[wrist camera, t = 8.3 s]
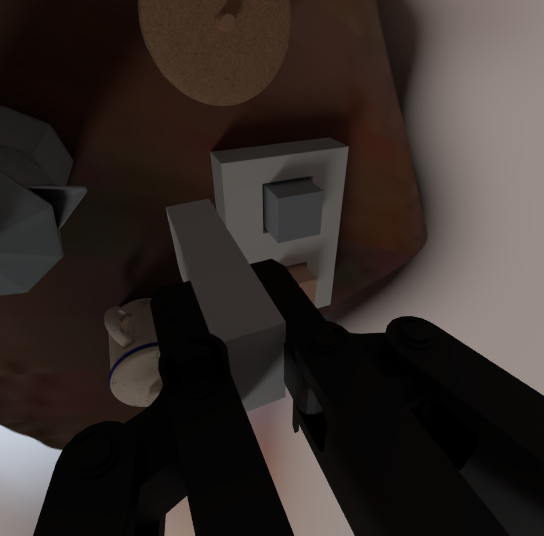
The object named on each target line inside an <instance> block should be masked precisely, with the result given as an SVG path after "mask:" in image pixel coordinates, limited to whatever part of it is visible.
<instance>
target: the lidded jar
mask: <svg viewBox="0 0 544 536" xmlns="http://www.w3.org/2000/svg"><path fill="white" fill-rule="evenodd" d="M138 14H139V23H140V27H141V31H142V35H143V38H144V41H145V44H146V46H147V49H148V51H149V52H150V54H151V56H152V58H153V60H154V62H155V64H156V65H157V66H158V68H159V69H160V71H161V72H162V74H163V75H164V76H165V77H166V78H167V79H168V80H169V81H170V82H171V83H172V85H174V86H175V87H176V88H177V89H179V90H180V91H181V92H182V93H184V94H185V95H187V96H189V97H191V98H192V99H194V100H197V101H199V102H202V103H205V104H209V105H214V106H229V105H236V104H239V103H242V102H245V101H247V100H249V99H251V98H253V97H255V96H256V95H258V94H259V93H260V92H261V91H263V90H264V89H265V88H266V87H267V86H268V85H269V84H270V83H271V81H272V80H273V79H274V77H275V76H276V74H277V73H278V71H279V69H280V67H281V65H282V63H283V61H284V58H285V56H286V53H287V50H288V46H289V41H290V36H291V25H292V16H291V4H290V0H138Z"/></svg>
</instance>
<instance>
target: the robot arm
mask: <svg viewBox="0 0 544 536" xmlns="http://www.w3.org/2000/svg"><path fill="white" fill-rule="evenodd" d="M166 211H167V215H168V220H169V225H170V229H171V234H172V238H173V243H174V248H175V252H176V257H177V261H178V266H179V270H180V274H181V277H182V280H183V282H182V283H178V284H174V285H170V286H166V287H162V288H158V289H155V290H154V293H153V295H152V298H151V301H150V307H151V312H152V317H153V322H154V327H155V332H156V336H157V341H158V346H159V351H160V357H159V361H158V371H159V374H160V377H161V380H162V383H163V386H162V389H161V391H160V393H159V395H158V396H157V398H156V399H155V400H154V401H153V402H152V404H151V405H149V406H148V407H147V408H146V409H145V410H143V411H142V412H141V413H139V414H138V415H136V416H135V417H133V418H132V419H130V420H129V421H127V422H126V423H124V424H122V423H120V422H118V421H104V422H101V423H97V424H94V425H91V426H89V427H87V428H86V429H84V430H83V431H81V432H80V433H78V434H77V435H75V436H74V437H73V439H72V440H71V441H70V442H69V443H68V444H67V445H66V446H65V447H64V449H63V450H62V452H61V454H60V457H59V459H58V461H57V462H56V465H55V468H54V471H53V474H52V478H51V481H50V484H49V487H48V490H47V493H46V497H45V500H44V503H43V506H42V509H41V512H40V515H39V519H38V522H37V525H36V528H35V531H34V534H33V536H164V532H165V518H166V513H167V512H169V511H170V510H171V509H172V508H173V507H174V506H176V504H178V503H179V502H180V501H181V500H182V499H184V498H185V497H186V496H187V497H188V502H189V506H190V512H191V517H192V521H193V526H194V531H195V536H294V534H293V531H292V528H291V526H290V523H289V521H288V518H287V516H286V513H285V511H284V508H283V506H282V503H281V500H280V498H279V496H278V493H277V490H276V488H275V485H274V482H273V480H272V477H271V475H270V472H269V470H268V467H267V465H266V462H265V459H264V457H263V454H262V452H261V449H260V447H259V444H258V442H257V439H256V436H255V434H254V431H253V429H252V426H251V424H250V421H249V419H248V416H247V413H246V412H247V411H250V410H252V409H255V408H258V407H260V406H263V405H266V404H268V403H271V402H273V401H276V400H279V399H281V398H283V397H285V385H286V387H287V388H288V390H289V392H290V394H291V396H292V398H293V424H292V425H293V428H294V432H295V433H296V432H298V431H299V425H300V427H301V429H302V431H303V433H304V435H305V437H306V439H307V441H308V443H309V445H310V447H311V449H312V451H313V453H314V455H315V457H316V459H317V461H318V463H319V465H320V467H321V469H322V471H323V473H324V475H325V477H326V479H327V481H328V483H329V485H330V487H331V489H332V491H333V493H334V495H335V497H336V499H337V501H338V503H339V505H340V507H341V509H342V511H343V513H344V515H345V517H346V519H347V521H348V523H349V525H350V527H351V529H352V531H353V533H354V535H355V536H544V396H543V395H542V394H540V393H539V392H537V391H536V390H534V389H533V388H531V387H530V386H528V385H526V384H525V383H523V382H522V381H520V380H519V379H517V378H516V377H514V376H512V375H511V374H510V373H508V372H507V371H505V370H503V369H502V368H500V367H499V366H497V365H496V364H494V363H493V362H491V361H489V360H488V359H487V358H485V357H483V356H482V355H480V354H479V353H477V352H476V351H474V350H473V349H471V348H469V347H468V346H467V345H465V344H463V343H462V342H460V341H459V340H457V339H456V338H454V337H453V336H451V335H450V334H448V333H447V332H445V331H444V330H442V329H440V328H439V327H438V326H436V325H434V324H433V323H431V322H429V321H427V320H424V319H422V318H418V317H413V316H403V317H399V318H396V319H394V320H392V321H391V322H390V323H389V325H387V328H386V333H366V334H356V333H349V332H348V331H347V330H346V329H344V328H343V327H342V326H340V325H338V324H336V323H333V322H330V321H326V320H325V319H324V317H323V316H322V315H321V313H320V312H319V311H318V309H317V308H316V307H315V305H314V304H313V303H312V301H311V300H310V299H309V297H308V296H307V295H306V293H305V292H304V291H303V289H302V288H301V287H299V284H298V283H297V281H296V280H295V279H293V276H292V275H291V273H290V272H289V271H288V269H287V268H286V267H285V266H284V265H282V264H281V263H279V262H277V261H275V260H274V259H268V260H264V261H260V262H256V263H252V264H249V263H248V261H247V259H246V258H245V256H244V255H243V253H242V251H241V250H240V248H239V246H238V245H237V243H236V242H235V240H234V238H233V237H232V235H231V234H230V232H229V230H228V229H227V227H226V226H225V224H224V222H223V221H222V219H221V218H220V216H219V214H218V213H217V211H216V210H215V208H214V206H213V205H212V203H211V202H210V200H209V199H206V200H201V201H195V202H190V203H185V204H180V205H174V206H169V207H166Z"/></svg>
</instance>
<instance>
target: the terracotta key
mask: <svg viewBox="0 0 544 536" xmlns="http://www.w3.org/2000/svg"><path fill="white" fill-rule="evenodd" d="M286 268H287V269H288V271H289V272H290V273H291V275H292V276H293V279H295V280H296V281H297V283H298V284H299V287H301V288H302V289H303V291H304V292H305V293H306V295H307V296H308V297H309V299H310V300H311V301H312V303H313V304H314V305H315V294H316V283H317V279H316V278H315V276H314V275H313V274H312V273H311V272H310V271H309V269H308V268H307V267H306V266H305V265H304V264H303V263H298V264H294V265H290V266H286Z"/></svg>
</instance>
